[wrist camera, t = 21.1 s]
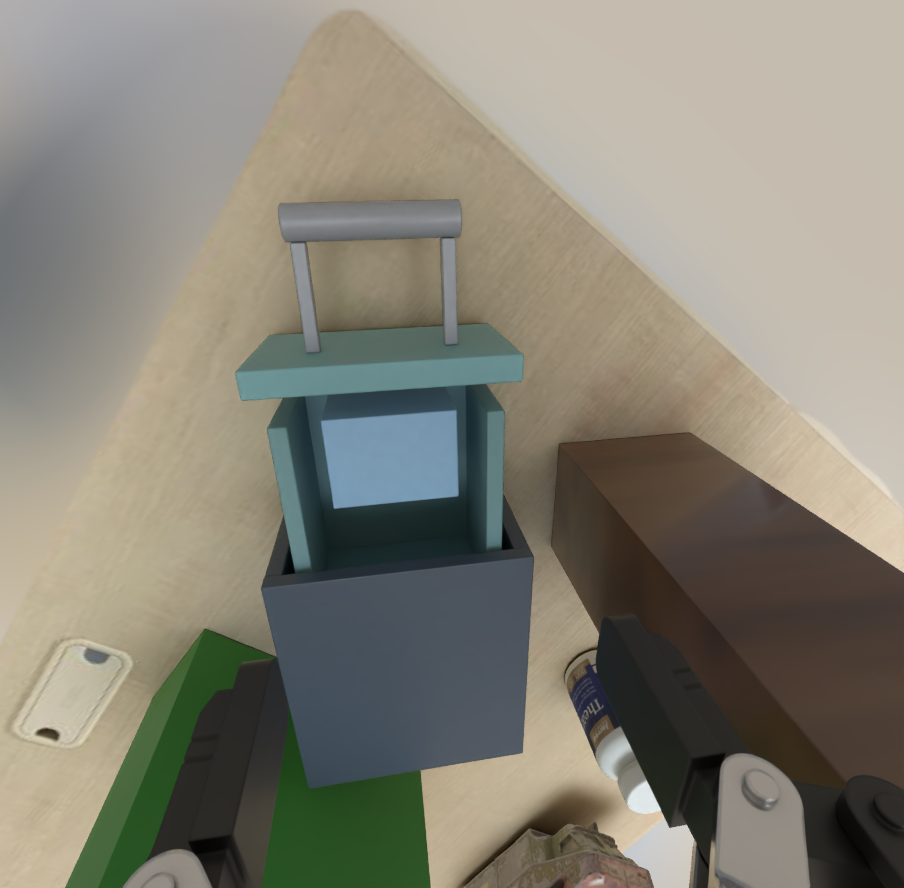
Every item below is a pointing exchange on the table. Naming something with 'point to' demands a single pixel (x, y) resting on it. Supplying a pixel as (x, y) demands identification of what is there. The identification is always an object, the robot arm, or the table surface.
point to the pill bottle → (607, 734)
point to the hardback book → (296, 807)
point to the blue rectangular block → (390, 446)
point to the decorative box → (563, 862)
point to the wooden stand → (743, 599)
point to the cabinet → (403, 658)
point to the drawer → (381, 369)
